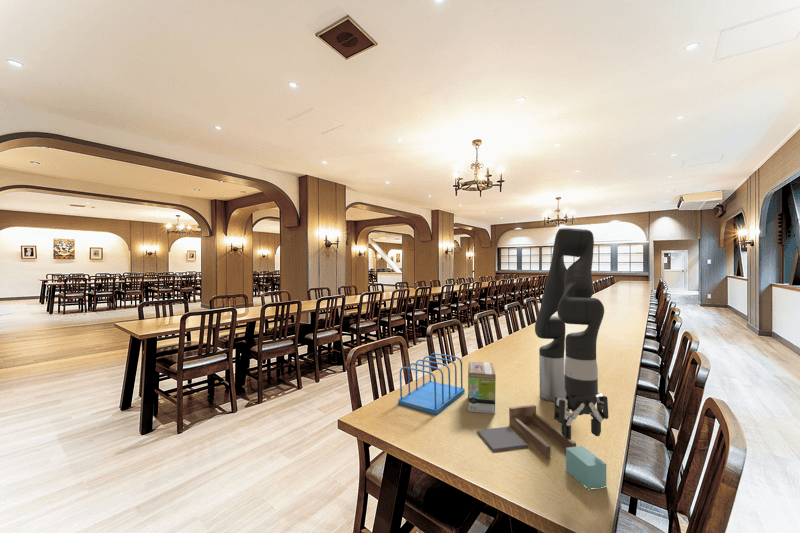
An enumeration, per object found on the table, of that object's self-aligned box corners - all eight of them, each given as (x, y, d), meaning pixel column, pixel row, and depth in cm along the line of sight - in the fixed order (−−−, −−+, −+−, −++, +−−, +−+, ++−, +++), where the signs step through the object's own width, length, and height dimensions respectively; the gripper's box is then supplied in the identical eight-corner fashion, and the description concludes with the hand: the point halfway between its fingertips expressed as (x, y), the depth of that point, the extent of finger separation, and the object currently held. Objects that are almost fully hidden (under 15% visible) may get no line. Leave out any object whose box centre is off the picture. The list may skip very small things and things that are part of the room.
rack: (534, 421, 113) (534, 404, 113) (576, 455, 93) (575, 434, 93) (509, 424, 111) (509, 407, 111) (546, 459, 91) (546, 437, 91)
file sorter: (429, 384, 149) (429, 351, 149) (465, 393, 139) (464, 357, 139) (397, 404, 128) (397, 365, 128) (436, 415, 118) (436, 373, 118)
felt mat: (508, 428, 108) (508, 426, 108) (527, 447, 97) (527, 444, 97) (477, 432, 106) (477, 430, 106) (493, 451, 95) (493, 448, 95)
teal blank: (582, 468, 87) (582, 445, 87) (606, 488, 79) (606, 463, 79) (566, 470, 86) (565, 447, 86) (588, 490, 79) (588, 466, 79)
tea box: (496, 414, 119) (496, 374, 119) (468, 412, 121) (467, 372, 121) (493, 397, 133) (492, 361, 133) (468, 396, 135) (467, 360, 135)
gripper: (566, 381, 79) (567, 447, 79) (616, 376, 82) (617, 441, 82) (547, 371, 87) (547, 432, 87) (593, 367, 90) (593, 426, 90)
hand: (581, 436), depth 84 cm, fingers open, 8 cm apart
